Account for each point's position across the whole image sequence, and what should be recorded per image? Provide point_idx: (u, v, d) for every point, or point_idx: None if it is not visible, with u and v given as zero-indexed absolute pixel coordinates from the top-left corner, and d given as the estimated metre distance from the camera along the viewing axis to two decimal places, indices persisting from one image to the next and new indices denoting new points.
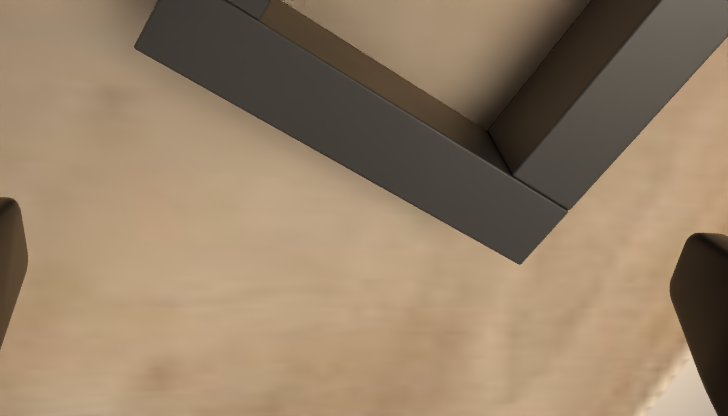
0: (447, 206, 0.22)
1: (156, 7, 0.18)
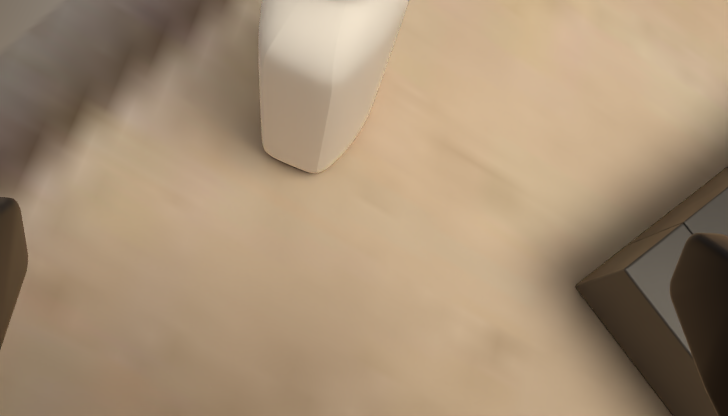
0: None
1: (657, 244, 0.21)
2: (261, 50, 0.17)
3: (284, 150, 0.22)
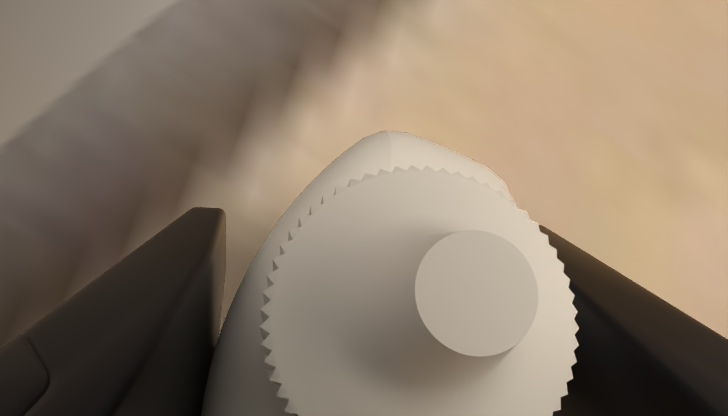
0: None
1: None
2: None
3: None
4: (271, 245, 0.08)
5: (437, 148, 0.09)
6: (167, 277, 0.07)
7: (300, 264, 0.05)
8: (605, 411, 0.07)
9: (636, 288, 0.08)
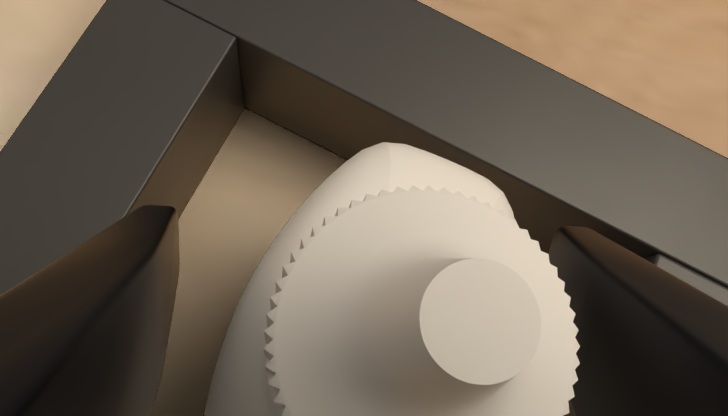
0: None
1: None
2: None
3: None
4: (272, 259, 0.08)
5: (436, 160, 0.09)
6: (103, 274, 0.07)
7: (303, 286, 0.05)
8: (667, 412, 0.07)
9: (692, 290, 0.08)
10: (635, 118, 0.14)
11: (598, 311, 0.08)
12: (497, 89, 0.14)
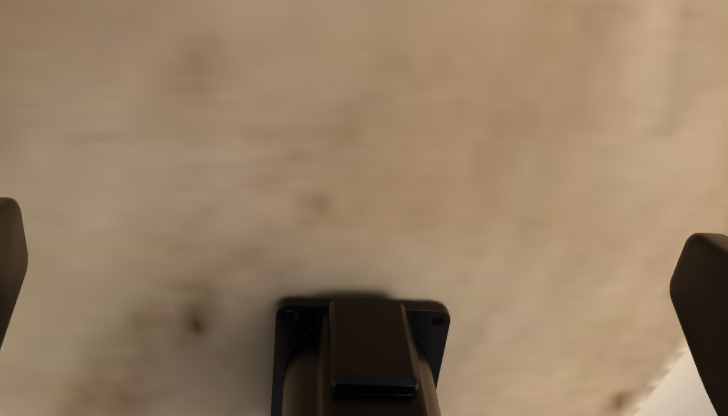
0: None
1: None
2: None
3: None
4: None
5: None
6: None
7: None
8: None
9: None
10: None
11: None
12: None
